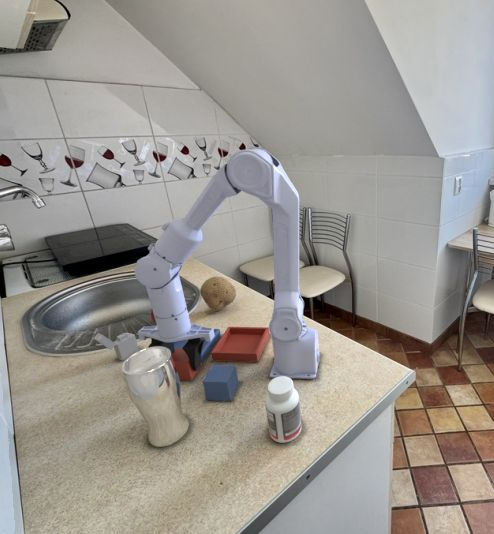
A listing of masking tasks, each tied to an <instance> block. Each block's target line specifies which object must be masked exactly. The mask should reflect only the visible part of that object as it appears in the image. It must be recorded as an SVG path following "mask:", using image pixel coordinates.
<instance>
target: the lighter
mask: <svg viewBox="0 0 494 534" xmlns="http://www.w3.org/2000/svg"><path fill="white" fill-rule="evenodd" d="M116 338H117V339H116V340H114V341H112V340H111V339H109V338H108V337H107V336H105V335H104V334H101V333H99V332H98V333H97V334H96V335H95V336H94V337H93V338H92V339H93V340H94V341H96V342H98V343H99V344H100V345H102V346H104V347H105V348H107V349H108V350H110V351H111V350H114V352H115V355H116V357H117V360H119V361H125V360H126V359H127V358H128V357H130V356H131V355H132V354H134V353H136V352H138V351H140V347H139V345H138V341H137V338H136V335H135V334H134V333H132V332H130V333H129V332H122V333H121V334H119V335H117V336H116Z"/></svg>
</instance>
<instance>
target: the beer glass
mask: <svg viewBox="0 0 494 534" xmlns="http://www.w3.org/2000/svg"><path fill="white" fill-rule="evenodd" d="M123 361H124V362H123V363H122V364H121V370H122V374H123V379H124V383H125V386H126V390H127V394H128V395H129V398H130V400H131V402H132V404H133V405H134V407H135V408H136V410H137V412H138V413H139V414H140V416H141V417H142V418H143V420H144V422H145V424H146V427H147V437H148V442H149V443H150V444H151V445H152V446H153V447H157V448H163V447H164V448H165V447H168V446H170V445H173V444H175V443H177V442H178V441H180V439H182V438H183V437H184V436H185V434H187V432H188V429H189V424H190V423H189V420H188V418H187V417H186V415H185V414H184V412H183V407H182V395H181V380H180V379H179V374H178V371H177V367H176V364H175V362H174V359H173V357H172V354H171V351H170V350H169V349H168V348H166V347H161V346H156V347H150V348H148V347H146V348H143V349H139V351H138V352H136V353H134V354H132V355H131V356H129V357H128V358H126V359H124V360H123Z"/></svg>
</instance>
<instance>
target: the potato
mask: <svg viewBox="0 0 494 534" xmlns="http://www.w3.org/2000/svg"><path fill="white" fill-rule="evenodd" d="M199 290H200V292H199V293H200V296H201V298H202V299H203V301H204V303H205V304H206V305H207V307H208V308H209V309H210V310H212V311H214V312H221V311H222V310H224V309H225V308H226V307H227V306H228V305H231V304H232V303H233V302H234V301H235V300H236V296H237V290H236V287H235V286H234V285H233V283H231V282H230V281H229V279H227V278H225V277H223V276H212V277H209V278H208V279H206V280H205V281H204V282H203V283H202V285H200V289H199Z"/></svg>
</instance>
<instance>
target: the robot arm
mask: <svg viewBox="0 0 494 534" xmlns="http://www.w3.org/2000/svg"><path fill="white" fill-rule="evenodd" d="M241 192H243V193H246V194H247V195H250V196H253V197H256V198H258V199H259V200H260V201H261V202H262V203H264V204H265V205H266V206H267V207H268V208H270V209H271V214H272V239H273V240H272V242H273V243H272V244H273V245H272V246H273V275H274V276H273V277H274V278H273V279H274V280H273V281H274V296H273V297H274V298H273V311H272V315H271V319H270V321H269V324H268V327H269V333H270V335H271V342H272V351H273V359H274V362H273V365H272V367H271V370H270V373H269V378H272V379H274V378H276V377H280V376H286V377H289V378H290V379H307V380H310V379H311V380H314V379H316V378H317V373H318V366H319V363H320V357H321V352H320V342H319V341H320V339H319V330H318V329H315V328H312V327H309V326H307V323H306V322H305V320H304V318H303V317H304V310H305V309H304V308H305V301H304V299H303V298H302V296H301V291H300V290H301V288H300V195H299V192H298V190H297V189H296V187H295V186H294V184H293V182H292V181H291V179H290V177H289V176H288V174H287V172H286V170H285V169H284V168H283V166H282V163H281V161H280V160H278V159H277V158H276V157H275V156H274V155H273V154H271V153H270V152H269V151H267V150H266V149H264V148H262V147H260V146H259V147H258V146H253V147H249V148H246V149H241V150H238V151H236V152H235V153H233V154H232V155H231V156H230V157H229V159H228V162H227V163H224V164H223V165H222V166H221V167H220V168H219V169H218V170H217V171H216V172H215V174H214V175H213V176H212V177H211V178H210V180H209V181H208V183H207V184H206V186H205V187H204V188H203V190H202V192H201V193H200V194H199V196H198V197H197V199H196V200H195V201H194V203H193V204H192V206H191V208H190V209H189V210H188V212H187V213H186V215H185V216H184V217H179V218H178V217H177V218H174V219H172V220H171V221H167V222H164V224H163V225H162V227H161V230H162V231H163V232H162V234H161V235H160V236H159V237H158V239H157V240H156V242H152V243H150V244H149V245H148V247H147V250H148V251H149V253H148V254H147V255H146V256H143V257H140V258H139V259H138V260H137V261H136V265H135V266H134V276H135V278H136V280H137V281H138V282H139V283H140V284H141V285H142V286H144V287H145V289H146V292H147V296H148V299H149V303H150V307H151V311H152V310H153V314H154V317H155V321H156V323H155V324H156V325H151V326H150V325H149V326H143V327H142V328H140V329H139V330H138V331H137V335H138V338H139V341H146V340H147V339H150V342H151V343H149V344H148V347H147V348H150V347H156V346H161V347H166V348H168V349H169V350H170V351H171V354H172V353H173V352H174V351H175V349H174V342H177V341H183V340H188V342H187V343H186V344H185V345H184V346H183V350H184V351H185V353H186V354H187V356H188V358H189V360H190V364H191V367H192V369H193V371H197V369H198V368H199V366H200V365H201V352H202V348H203V344H204V341H205V340H206V342H211V341H212V339H213V338H214V336H215V334H214V329H215V328H214V327H207V326H202V325H199V324H195V323H192V322H191V319H190V315H189V311H188V307H187V303H186V298H185V294H184V290H183V289H184V288H183V285H182V282H181V278H180V272H181V271H182V268H183V265H184V264H185V263H186V262H187V261H188V259H189V258H190V257H191V255H192V254H193V252H194V251H195V250H196V249H197V248H198V246H199V245H200V244H201V243H202V241H203V239H204V234H203V231H202V230H203V229H202V228H203V227H204V226H205V225H206V224H207V222H208V221H209V220H210V219H211V217H213V215H214V214H215V213H216V212H217V210H218V209H219V208H220V207H221V205H222V204H223V203H224V202H225V201H226V199H227V198H231V197H234V196H237V195H238V194H240V193H241Z"/></svg>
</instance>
